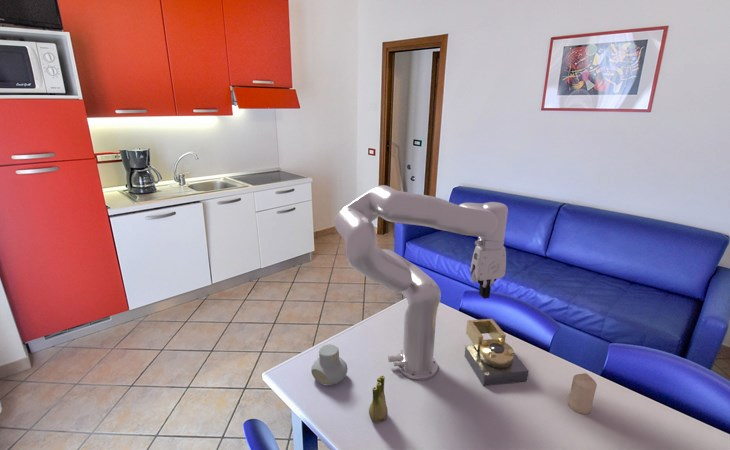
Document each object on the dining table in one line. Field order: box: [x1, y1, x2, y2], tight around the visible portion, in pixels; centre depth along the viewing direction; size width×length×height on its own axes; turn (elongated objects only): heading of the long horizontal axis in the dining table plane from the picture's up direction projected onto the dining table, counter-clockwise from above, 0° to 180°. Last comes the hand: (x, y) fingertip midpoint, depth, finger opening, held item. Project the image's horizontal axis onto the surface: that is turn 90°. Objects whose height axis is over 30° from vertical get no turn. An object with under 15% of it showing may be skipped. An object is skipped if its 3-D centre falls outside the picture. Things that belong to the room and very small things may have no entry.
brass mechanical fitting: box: [465, 318, 516, 368], centre depth 118 cm, size 18×10×5 cm, turn 7°
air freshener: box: [311, 343, 348, 386], centre depth 111 cm, size 11×8×10 cm
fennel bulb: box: [368, 375, 388, 423], centre depth 96 cm, size 6×5×12 cm
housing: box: [464, 341, 529, 387], centre depth 116 cm, size 14×14×4 cm
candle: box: [567, 372, 598, 415], centre depth 100 cm, size 6×6×10 cm
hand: (484, 296), depth 118 cm, fingers closed
